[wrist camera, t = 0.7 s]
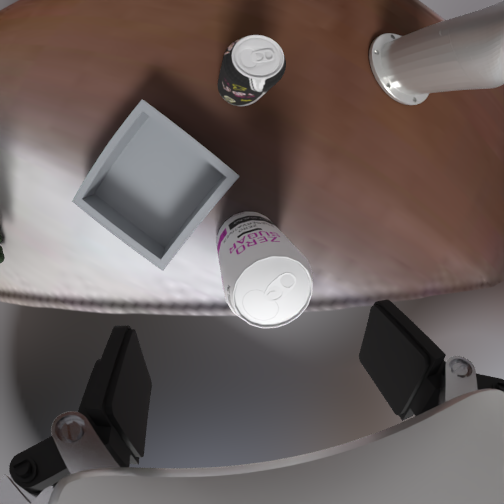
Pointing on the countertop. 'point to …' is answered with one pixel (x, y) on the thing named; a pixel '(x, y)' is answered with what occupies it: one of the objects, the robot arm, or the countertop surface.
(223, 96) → the beverage can
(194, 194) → the tray
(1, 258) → the toy figurine
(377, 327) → the robot arm
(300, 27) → the countertop surface
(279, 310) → the supplement can
